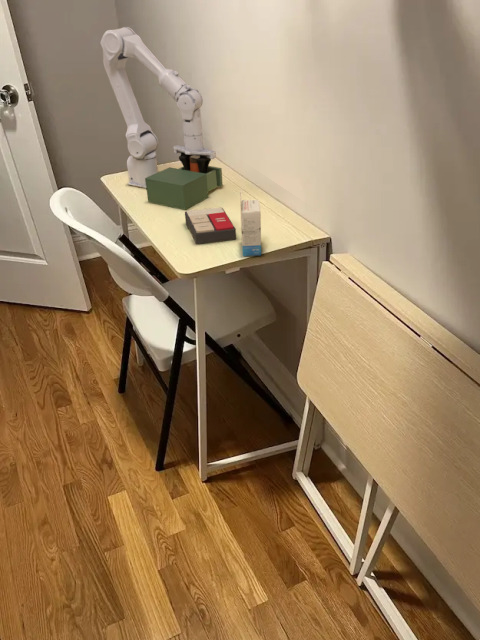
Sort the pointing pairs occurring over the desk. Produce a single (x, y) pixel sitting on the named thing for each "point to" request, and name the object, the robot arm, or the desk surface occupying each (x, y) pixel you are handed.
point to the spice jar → (193, 163)
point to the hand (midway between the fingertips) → (196, 178)
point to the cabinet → (177, 188)
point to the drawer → (212, 177)
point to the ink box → (250, 227)
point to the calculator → (210, 225)
